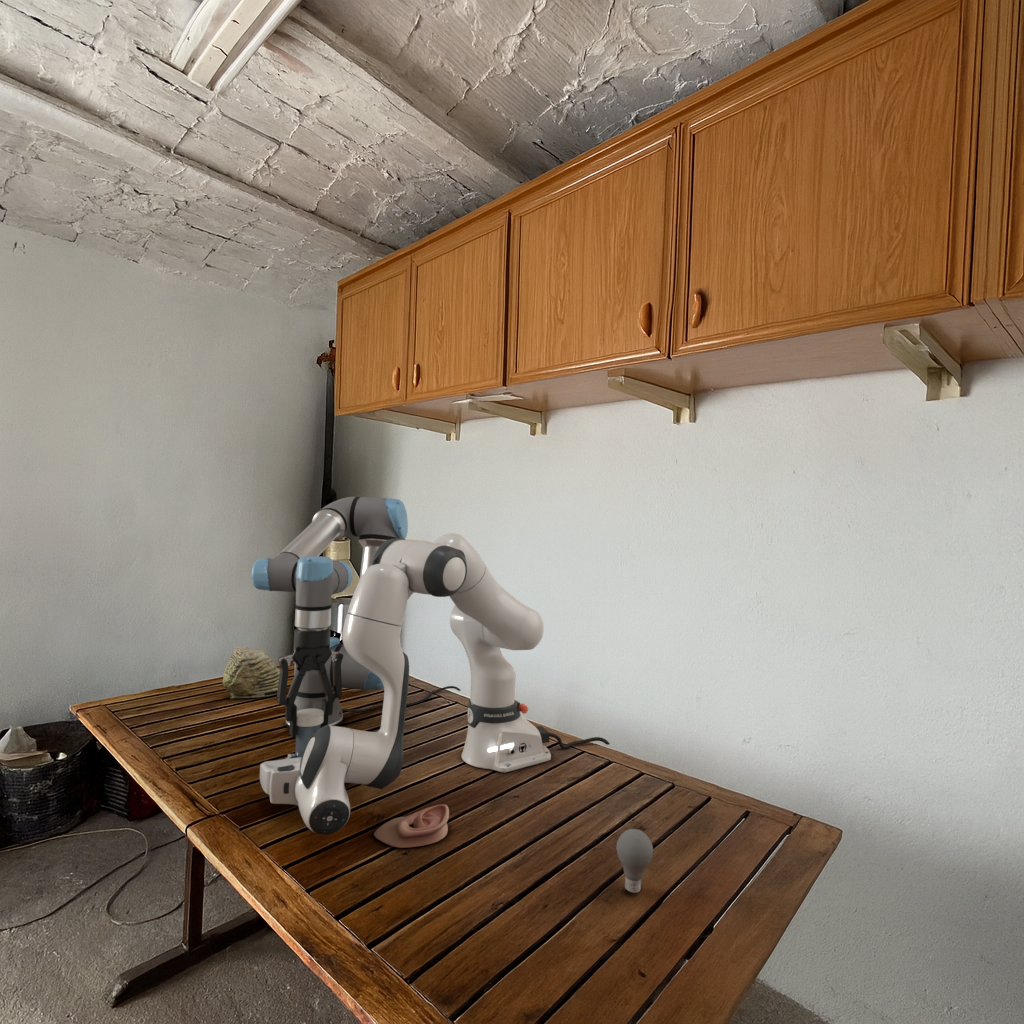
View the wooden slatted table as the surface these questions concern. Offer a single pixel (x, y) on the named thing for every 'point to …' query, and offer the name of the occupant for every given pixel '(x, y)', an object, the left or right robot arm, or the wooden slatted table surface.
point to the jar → (303, 738)
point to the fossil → (251, 674)
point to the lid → (310, 717)
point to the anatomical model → (416, 828)
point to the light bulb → (634, 857)
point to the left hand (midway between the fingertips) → (308, 732)
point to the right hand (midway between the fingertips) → (306, 755)
